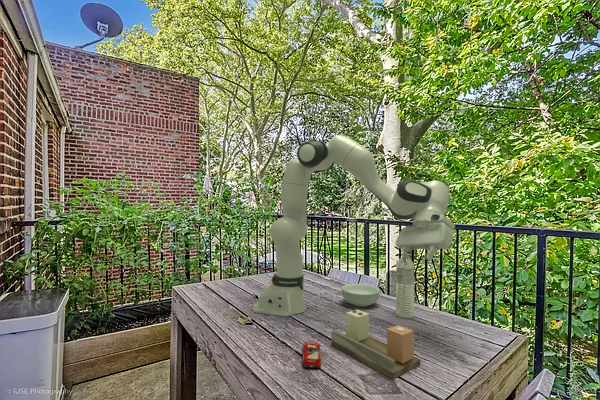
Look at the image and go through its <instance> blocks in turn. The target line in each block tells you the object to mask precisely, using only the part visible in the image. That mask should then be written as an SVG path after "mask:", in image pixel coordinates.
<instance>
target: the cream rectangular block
mask: <svg viewBox="0 0 600 400" xmlns="http://www.w3.org/2000/svg"><path fill="white" fill-rule="evenodd" d="M369 317H370V314H369V313H367V312H365V311H362V310H359V309H354V310H352V311H351V310H350V311H347V312H346V315H345V318H346V319H345V322H346V323H345V324H346V325H345V333H346V334H345V335H346V336H347V337H349V338H351V339H353V340H356V341H361V340H364V339H367V338H369V336H370V322H369V321H370V318H369Z"/></svg>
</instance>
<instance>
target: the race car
mask: <svg viewBox="0 0 600 400" xmlns="http://www.w3.org/2000/svg"><path fill="white" fill-rule="evenodd" d="M321 346H322V345H320V343H319V342H318V341H312V340H309V341H304V343H302V366H303V368H307V369H311V368H312V369H320V368H321V366H322V358H321V357H322V355H321Z"/></svg>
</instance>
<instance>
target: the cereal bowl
mask: <svg viewBox="0 0 600 400" xmlns="http://www.w3.org/2000/svg"><path fill="white" fill-rule="evenodd" d="M380 294H381V289H379V287H378V286H375V285H371V284H366V283H348V284H345V285H343V286H342V287H341V295H342V297H343V300H345V301H346V302H347V303H349V304H351V305H352V306H355V307H359V308H366V307H369V306H370V305H373V304H375V303H377V302H378V301H379V298H380Z"/></svg>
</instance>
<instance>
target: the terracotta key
mask: <svg viewBox="0 0 600 400" xmlns="http://www.w3.org/2000/svg"><path fill="white" fill-rule="evenodd" d="M386 330H387V331H386V344H387V356H388V357H390V358H392V359H394V360H396V361H398V362H400V363H402V364H403V363H405V362H407V361H409V360H411V359H413V358H414V357H415V355H414V353H415V351H414V350H415V348H414V347H415V345H414V344H415V342H414V341H415V337H414V335H415V333H414V330H413V329H410V328H408V327H405V326H402V325H399V324H397V325H395V326H392V327H391V326H390V327H389V328H387V329H386Z"/></svg>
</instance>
